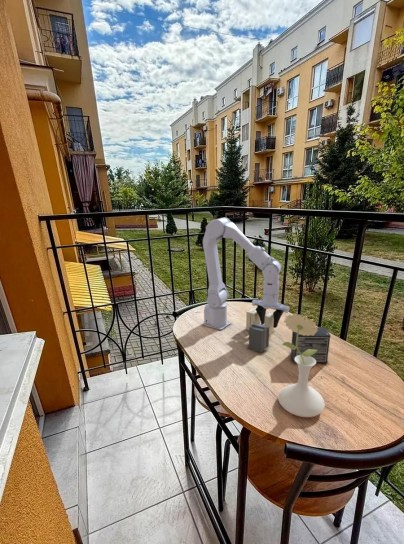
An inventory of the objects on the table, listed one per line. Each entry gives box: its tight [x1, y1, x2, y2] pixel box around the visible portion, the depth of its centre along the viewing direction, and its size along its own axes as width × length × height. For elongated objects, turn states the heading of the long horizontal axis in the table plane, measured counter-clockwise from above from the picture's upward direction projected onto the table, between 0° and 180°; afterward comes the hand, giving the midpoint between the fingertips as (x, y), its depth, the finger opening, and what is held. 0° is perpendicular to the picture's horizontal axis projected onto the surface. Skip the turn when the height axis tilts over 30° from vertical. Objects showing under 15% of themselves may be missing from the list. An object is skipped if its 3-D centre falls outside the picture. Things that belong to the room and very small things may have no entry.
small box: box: [290, 326, 331, 365], centre depth 92 cm, size 11×6×10 cm, turn 84°
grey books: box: [248, 323, 270, 353], centre depth 100 cm, size 5×6×9 cm
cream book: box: [263, 311, 275, 336], centre depth 110 cm, size 5×2×8 cm, turn 142°
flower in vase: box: [277, 313, 326, 418], centre depth 69 cm, size 13×11×25 cm
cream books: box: [245, 307, 261, 331], centre depth 115 cm, size 4×5×8 cm
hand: (269, 325), depth 111 cm, fingers open, 5 cm apart
